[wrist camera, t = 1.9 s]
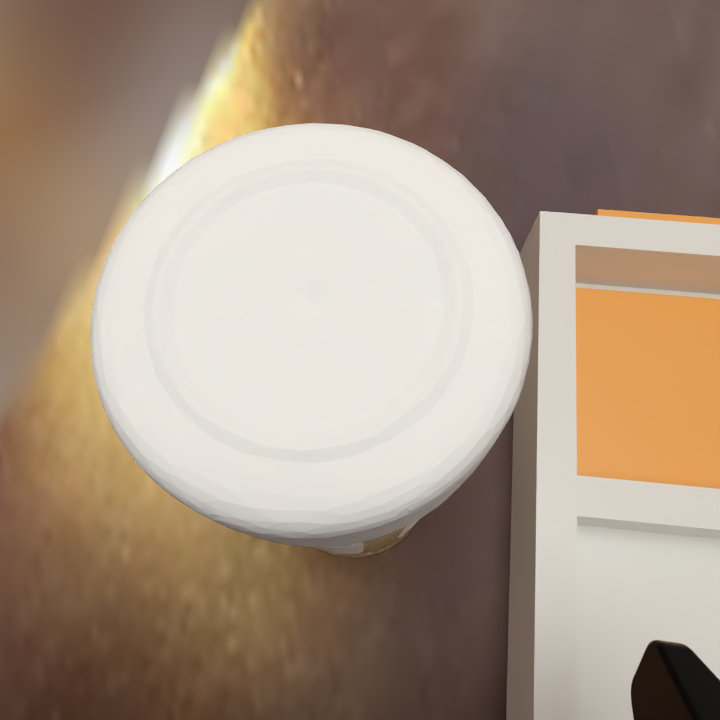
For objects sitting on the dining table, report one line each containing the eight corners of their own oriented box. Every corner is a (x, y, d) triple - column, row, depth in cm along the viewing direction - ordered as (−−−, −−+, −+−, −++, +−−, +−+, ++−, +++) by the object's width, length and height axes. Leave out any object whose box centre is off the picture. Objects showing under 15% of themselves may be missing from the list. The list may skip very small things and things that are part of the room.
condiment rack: (895, 1282, 13) (1036, 1476, 11) (493, 1221, 14) (524, 1392, 11) (777, 268, 21) (842, 221, 18) (517, 248, 21) (540, 199, 18)
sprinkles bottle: (458, 503, 19) (645, 366, 6) (326, 590, 18) (210, 651, 5) (374, 378, 20) (378, 38, 7) (248, 454, 19) (0, 234, 6)
